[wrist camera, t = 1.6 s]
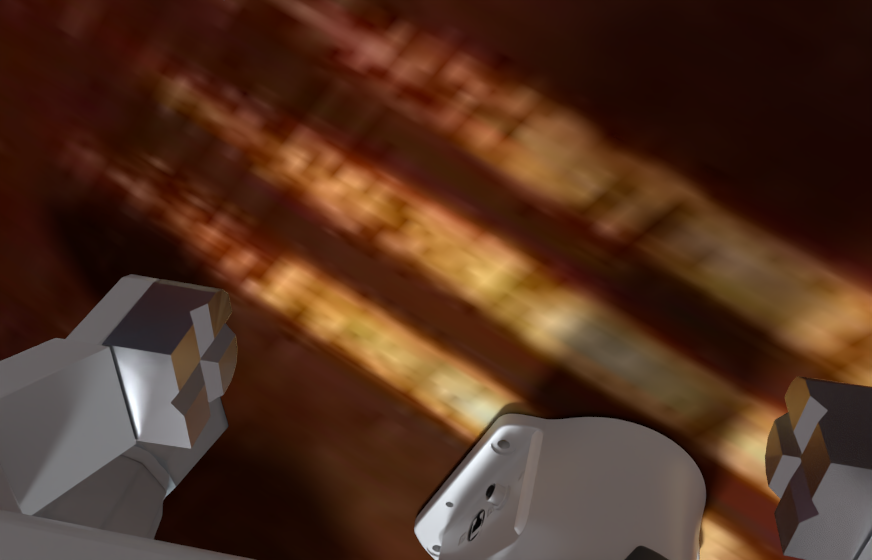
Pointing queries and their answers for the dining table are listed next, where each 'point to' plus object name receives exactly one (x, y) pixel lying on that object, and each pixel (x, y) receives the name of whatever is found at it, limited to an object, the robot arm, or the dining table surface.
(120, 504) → the coffee maker
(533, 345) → the dining table surface
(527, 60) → the dining table surface
